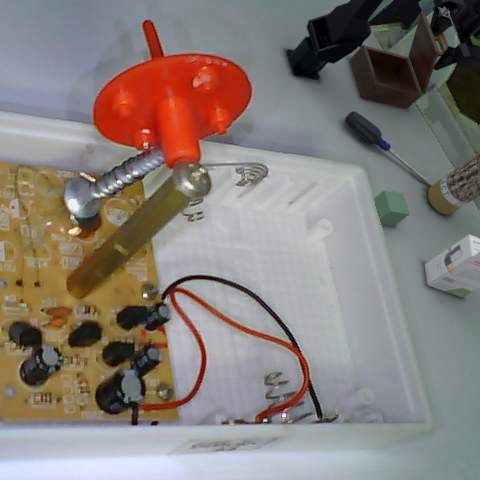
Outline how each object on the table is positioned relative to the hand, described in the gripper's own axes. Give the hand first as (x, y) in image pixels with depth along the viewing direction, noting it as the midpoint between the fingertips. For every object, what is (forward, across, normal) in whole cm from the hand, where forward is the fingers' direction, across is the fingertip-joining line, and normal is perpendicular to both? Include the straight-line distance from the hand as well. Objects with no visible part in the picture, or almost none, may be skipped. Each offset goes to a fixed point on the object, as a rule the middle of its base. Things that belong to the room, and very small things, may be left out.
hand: (430, 56), depth 164 cm
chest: (+11, 0, +5) cm, 12 cm away
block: (+11, -34, +15) cm, 39 cm away
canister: (+11, -29, -1) cm, 31 cm away
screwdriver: (+11, -20, +8) cm, 24 cm away
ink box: (+11, -47, +5) cm, 48 cm away
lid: (0, 0, +3) cm, 3 cm away
